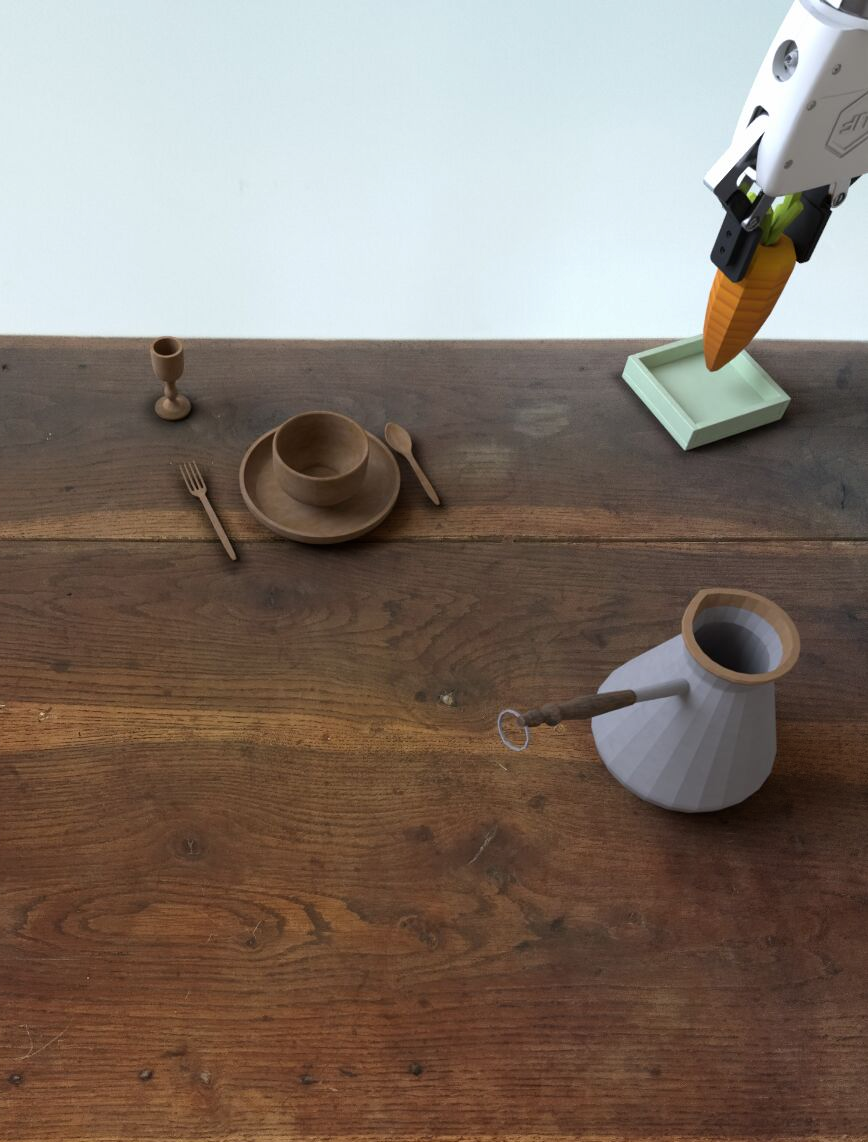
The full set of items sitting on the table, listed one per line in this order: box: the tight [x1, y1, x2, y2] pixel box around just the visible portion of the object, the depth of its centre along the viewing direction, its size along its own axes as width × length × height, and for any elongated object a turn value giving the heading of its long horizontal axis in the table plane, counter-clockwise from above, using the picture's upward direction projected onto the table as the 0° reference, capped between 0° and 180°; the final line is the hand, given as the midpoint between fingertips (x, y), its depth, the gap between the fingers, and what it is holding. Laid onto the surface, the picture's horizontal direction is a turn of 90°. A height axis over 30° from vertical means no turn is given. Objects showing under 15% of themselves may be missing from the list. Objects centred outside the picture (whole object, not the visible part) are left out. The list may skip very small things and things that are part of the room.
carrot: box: [702, 191, 804, 372], centre depth 78 cm, size 5×5×15 cm
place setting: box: [149, 335, 441, 561], centre depth 80 cm, size 18×20×6 cm
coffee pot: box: [497, 587, 801, 814], centre depth 62 cm, size 21×12×15 cm, turn 118°
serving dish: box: [621, 333, 792, 452], centre depth 86 cm, size 9×9×2 cm
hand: (759, 258), depth 76 cm, fingers closed on carrot, 4 cm apart
